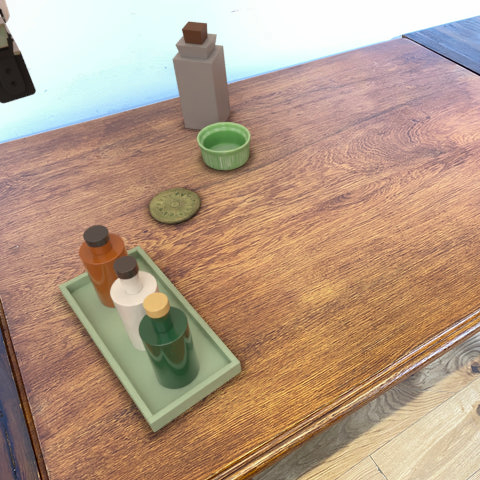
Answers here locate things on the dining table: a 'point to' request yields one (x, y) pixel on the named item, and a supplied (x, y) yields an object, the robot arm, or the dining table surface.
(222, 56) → the perfume bottle
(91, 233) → the amber bottle
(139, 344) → the frosted bottle
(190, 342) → the green glass bottle
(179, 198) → the medallion
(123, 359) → the tray
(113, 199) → the dining table surface
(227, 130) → the ramekin
